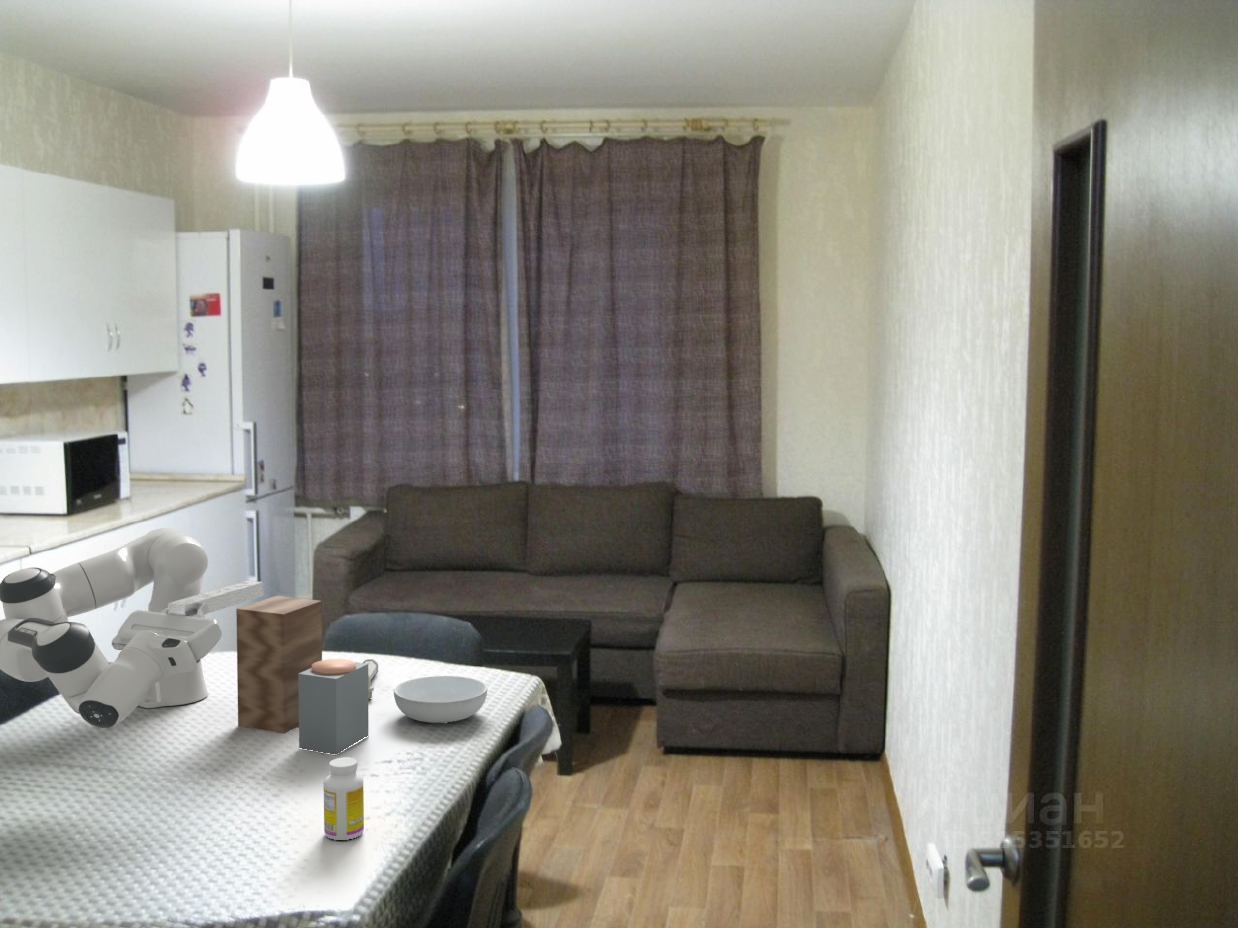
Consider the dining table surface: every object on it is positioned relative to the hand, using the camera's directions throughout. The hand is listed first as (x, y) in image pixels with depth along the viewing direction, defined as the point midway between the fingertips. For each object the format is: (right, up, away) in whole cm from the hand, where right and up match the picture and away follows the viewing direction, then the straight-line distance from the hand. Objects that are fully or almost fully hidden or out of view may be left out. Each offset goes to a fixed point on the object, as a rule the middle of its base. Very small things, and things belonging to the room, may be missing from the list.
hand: (193, 604), depth 234 cm
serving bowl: (+43, -30, +34) cm, 63 cm away
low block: (+24, -31, +16) cm, 42 cm away
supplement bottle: (+36, -36, -29) cm, 59 cm away
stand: (+9, -29, +30) cm, 42 cm away
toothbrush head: (+22, -27, +55) cm, 65 cm away
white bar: (+2, -1, +7) cm, 7 cm away
